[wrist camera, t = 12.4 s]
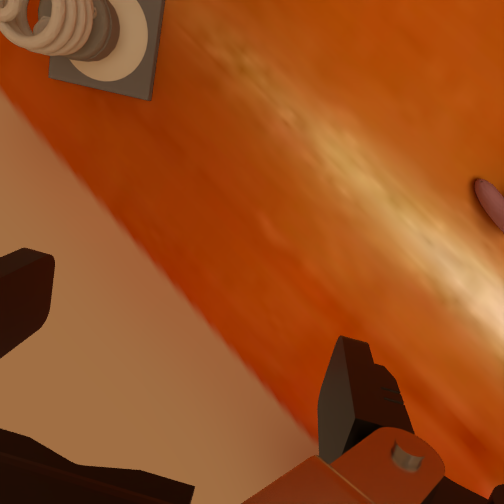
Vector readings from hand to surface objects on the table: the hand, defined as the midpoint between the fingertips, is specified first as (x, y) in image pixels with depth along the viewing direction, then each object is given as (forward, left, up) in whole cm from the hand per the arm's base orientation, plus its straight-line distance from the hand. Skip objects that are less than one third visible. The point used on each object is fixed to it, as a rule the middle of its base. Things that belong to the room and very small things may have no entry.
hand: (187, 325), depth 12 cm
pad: (-9, -16, -29) cm, 34 cm away
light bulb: (-9, -16, -28) cm, 34 cm away
